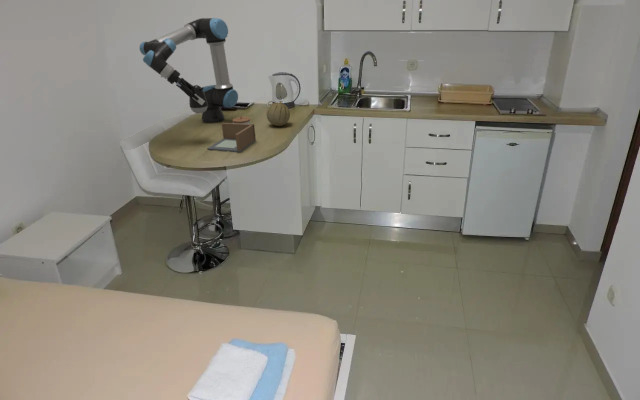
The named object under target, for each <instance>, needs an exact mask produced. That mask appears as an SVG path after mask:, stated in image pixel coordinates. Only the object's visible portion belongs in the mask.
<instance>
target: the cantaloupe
mask: <svg viewBox="0 0 640 400" xmlns="http://www.w3.org/2000/svg"><path fill="white" fill-rule="evenodd" d="M290 118H291V112H290V109H289V107H288V106H287V105H286V104H284V103H282V102H281V101H279V102H274V103H271V104H270V105H269V107H268V108H267V110H266V119H267V120H268V122H269V123H270V124H271V125H273V126H275V127H282V126H285V125H286V124H287V123H288V122H289V120H290Z"/></svg>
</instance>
